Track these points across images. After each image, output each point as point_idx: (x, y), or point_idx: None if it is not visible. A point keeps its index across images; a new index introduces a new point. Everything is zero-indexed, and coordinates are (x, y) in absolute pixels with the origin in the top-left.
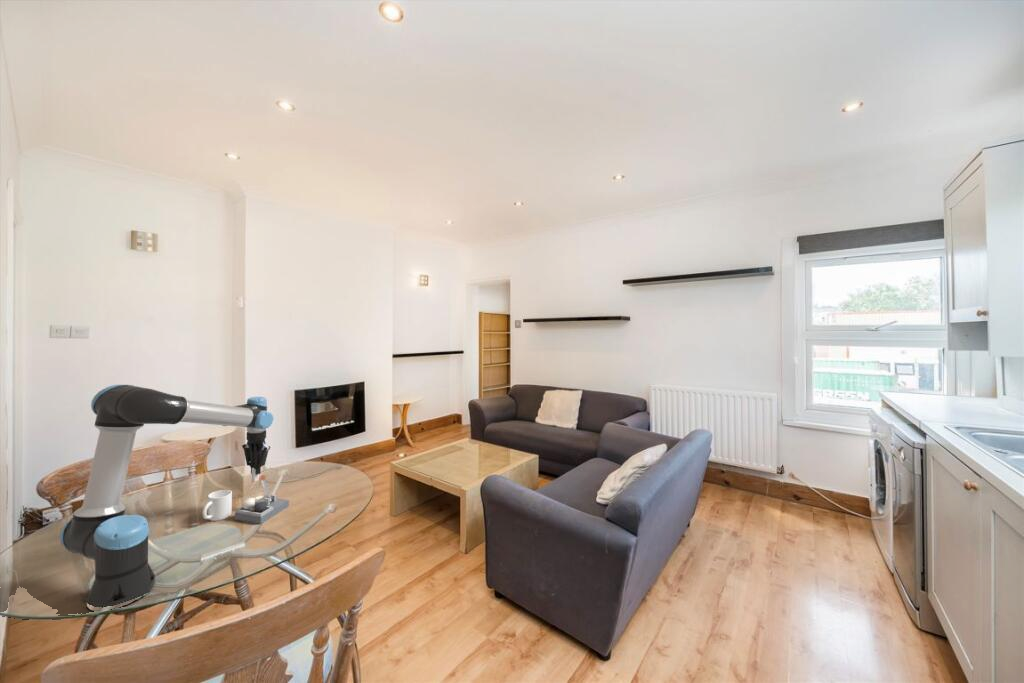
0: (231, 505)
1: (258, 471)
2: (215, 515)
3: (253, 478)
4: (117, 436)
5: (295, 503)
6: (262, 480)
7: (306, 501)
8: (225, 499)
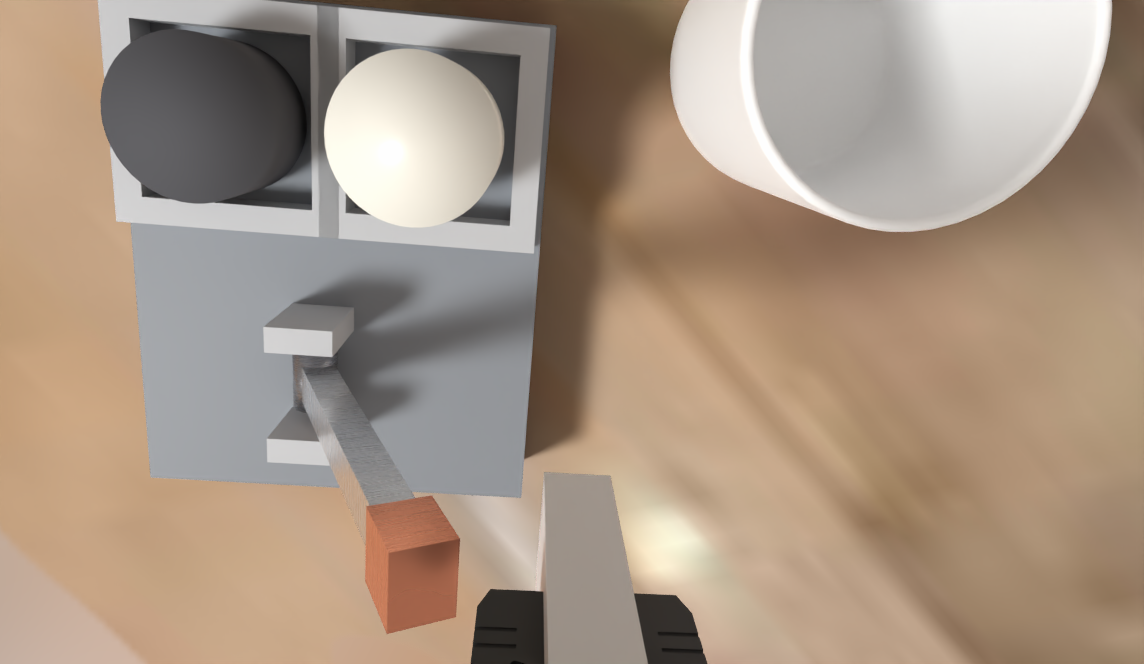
0: (704, 133)
1: (472, 654)
2: None
3: (572, 512)
4: None
5: (170, 511)
6: (375, 516)
7: (88, 573)
8: None
